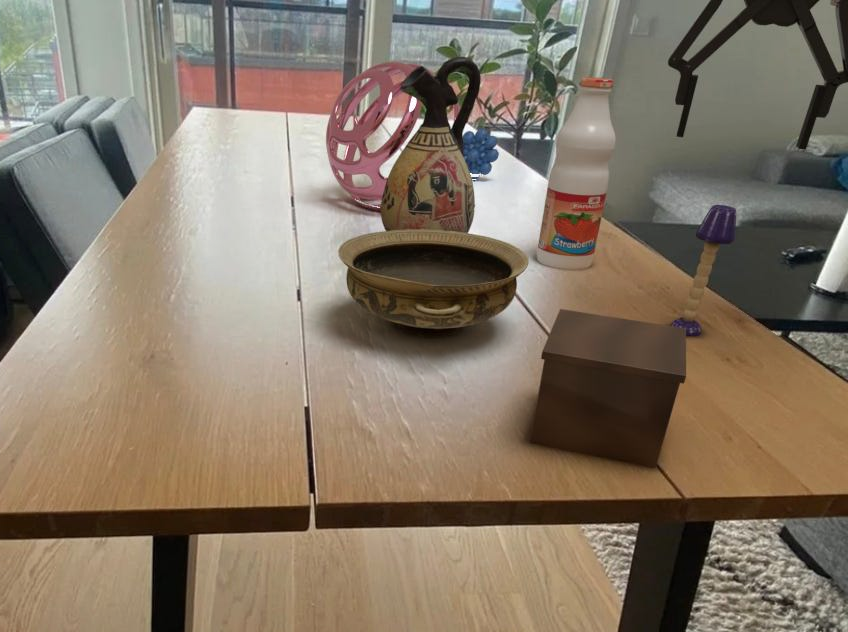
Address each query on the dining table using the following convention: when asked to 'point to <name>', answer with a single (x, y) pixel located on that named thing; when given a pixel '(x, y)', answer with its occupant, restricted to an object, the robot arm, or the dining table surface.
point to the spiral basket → (370, 129)
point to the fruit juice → (578, 180)
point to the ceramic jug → (433, 158)
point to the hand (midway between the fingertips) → (739, 141)
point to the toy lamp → (707, 261)
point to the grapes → (479, 151)
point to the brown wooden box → (608, 386)
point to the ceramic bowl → (432, 277)
